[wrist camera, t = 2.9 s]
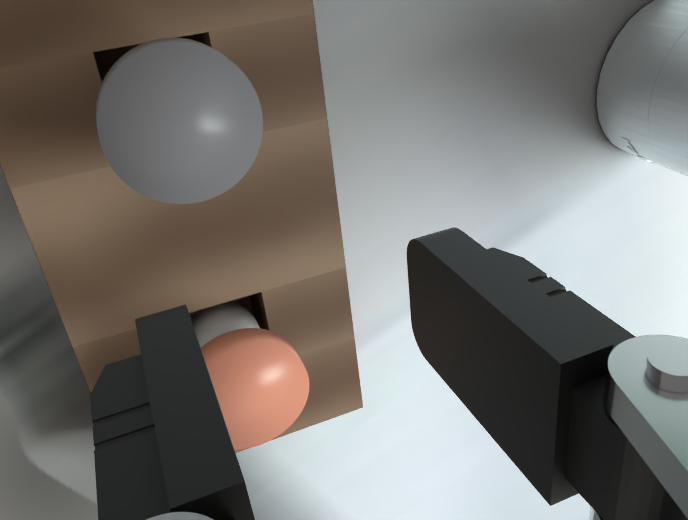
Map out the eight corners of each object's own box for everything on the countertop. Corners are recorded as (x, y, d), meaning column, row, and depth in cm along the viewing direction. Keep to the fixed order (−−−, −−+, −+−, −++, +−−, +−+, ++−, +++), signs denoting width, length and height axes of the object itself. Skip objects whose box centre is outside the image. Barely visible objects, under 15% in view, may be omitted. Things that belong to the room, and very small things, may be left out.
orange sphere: (153, 300, 28) (170, 368, 23) (264, 268, 29) (299, 328, 25) (180, 389, 30) (200, 466, 26) (281, 356, 31) (316, 424, 27)
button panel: (-68, -81, 23) (-98, -84, 18) (259, -118, 26) (296, -127, 22) (121, 423, 34) (129, 491, 30) (329, 354, 38) (362, 407, 33)
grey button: (72, 35, 22) (74, 60, 18) (213, 11, 23) (247, 29, 19) (113, 170, 25) (123, 220, 20) (239, 142, 26) (274, 183, 22)
